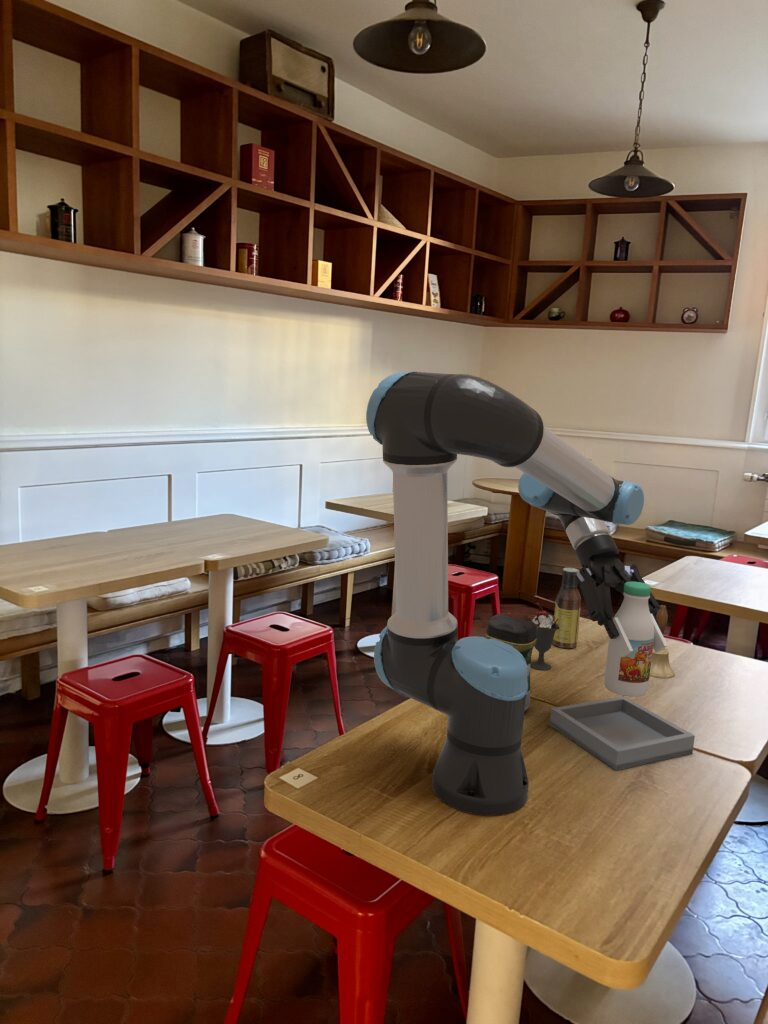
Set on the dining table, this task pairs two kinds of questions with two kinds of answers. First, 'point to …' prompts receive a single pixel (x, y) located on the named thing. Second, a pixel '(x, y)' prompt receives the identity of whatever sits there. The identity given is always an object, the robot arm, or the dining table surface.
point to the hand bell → (661, 659)
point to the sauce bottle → (567, 611)
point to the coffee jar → (514, 638)
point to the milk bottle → (632, 644)
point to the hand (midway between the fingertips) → (644, 651)
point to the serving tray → (621, 732)
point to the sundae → (543, 637)
